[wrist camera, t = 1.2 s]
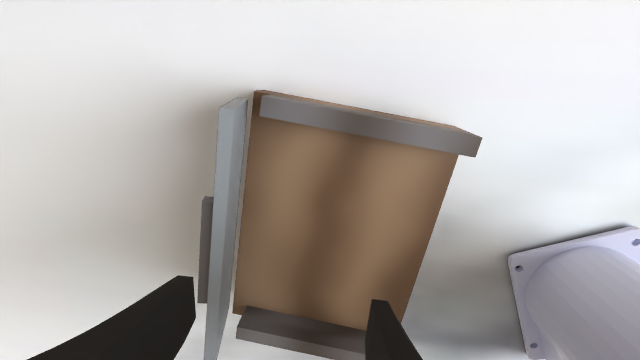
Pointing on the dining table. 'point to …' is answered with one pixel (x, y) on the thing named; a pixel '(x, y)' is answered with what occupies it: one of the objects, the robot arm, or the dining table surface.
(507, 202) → the dining table surface
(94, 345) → the robot arm
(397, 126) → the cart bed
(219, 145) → the panel
